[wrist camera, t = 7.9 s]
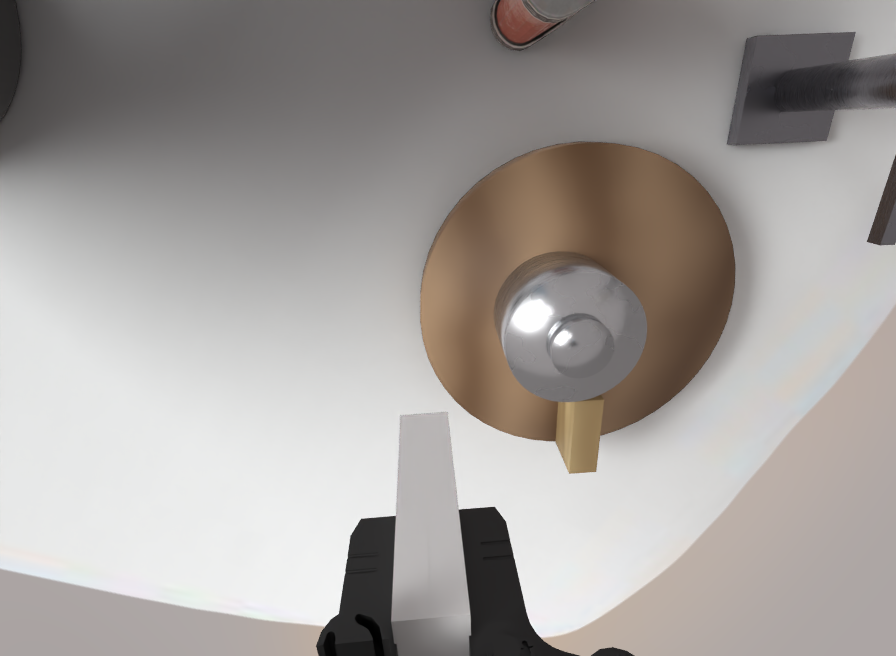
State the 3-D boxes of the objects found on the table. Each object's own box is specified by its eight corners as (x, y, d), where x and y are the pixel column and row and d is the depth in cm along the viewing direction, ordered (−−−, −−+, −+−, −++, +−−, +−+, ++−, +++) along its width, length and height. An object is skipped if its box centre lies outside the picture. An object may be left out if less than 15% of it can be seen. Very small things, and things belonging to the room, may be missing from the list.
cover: (491, 367, 27) (506, 416, 23) (495, 252, 25) (512, 281, 20) (607, 363, 28) (643, 410, 23) (623, 249, 25) (669, 276, 20)
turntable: (429, 431, 31) (430, 483, 27) (409, 149, 24) (406, 154, 20) (687, 414, 32) (731, 462, 27) (744, 134, 25) (816, 135, 20)
